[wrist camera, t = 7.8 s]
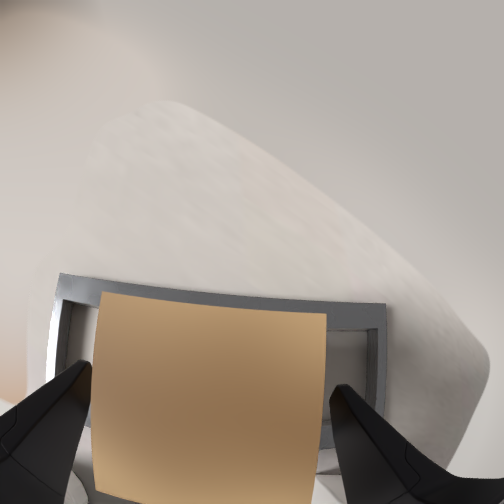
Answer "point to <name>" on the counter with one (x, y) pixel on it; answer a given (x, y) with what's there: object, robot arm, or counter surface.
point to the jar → (328, 490)
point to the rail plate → (337, 313)
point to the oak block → (206, 402)
